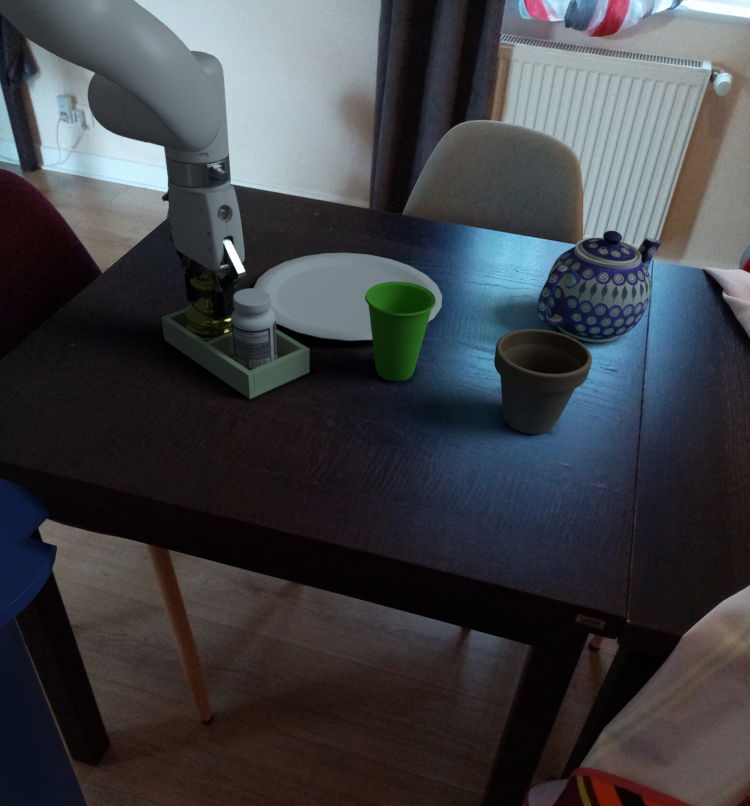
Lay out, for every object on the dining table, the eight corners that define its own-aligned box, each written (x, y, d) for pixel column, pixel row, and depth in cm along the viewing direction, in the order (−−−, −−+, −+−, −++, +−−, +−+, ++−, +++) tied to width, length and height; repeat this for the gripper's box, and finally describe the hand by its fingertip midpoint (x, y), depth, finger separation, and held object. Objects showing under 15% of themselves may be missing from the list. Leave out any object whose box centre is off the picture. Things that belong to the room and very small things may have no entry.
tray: (249, 399, 100) (248, 375, 97) (164, 340, 110) (160, 316, 107) (309, 372, 105) (309, 348, 103) (223, 318, 115) (221, 295, 113)
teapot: (565, 371, 109) (590, 271, 99) (494, 325, 118) (510, 229, 108) (680, 327, 120) (712, 233, 111) (607, 288, 129) (630, 198, 119)
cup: (348, 367, 107) (350, 293, 99) (397, 348, 111) (403, 275, 104) (391, 397, 102) (397, 321, 94) (441, 375, 106) (450, 301, 99)
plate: (387, 370, 106) (388, 359, 105) (213, 313, 116) (212, 303, 115) (470, 289, 126) (472, 280, 125) (316, 247, 136) (316, 237, 135)
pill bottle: (249, 349, 107) (245, 282, 101) (285, 361, 106) (283, 292, 99) (226, 369, 103) (220, 299, 97) (262, 380, 102) (259, 311, 95)
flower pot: (510, 384, 105) (523, 317, 99) (588, 415, 101) (607, 346, 94) (467, 423, 98) (478, 353, 91) (549, 458, 93) (567, 387, 87)
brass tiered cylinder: (250, 333, 111) (246, 266, 105) (226, 357, 106) (220, 289, 99) (203, 322, 113) (197, 256, 106) (177, 346, 107) (169, 278, 101)
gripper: (268, 183, 92) (273, 322, 104) (184, 145, 101) (197, 277, 113) (215, 197, 88) (227, 340, 100) (132, 156, 97) (152, 292, 108)
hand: (211, 305), depth 106 cm, fingers closed on brass tiered cylinder, 5 cm apart
